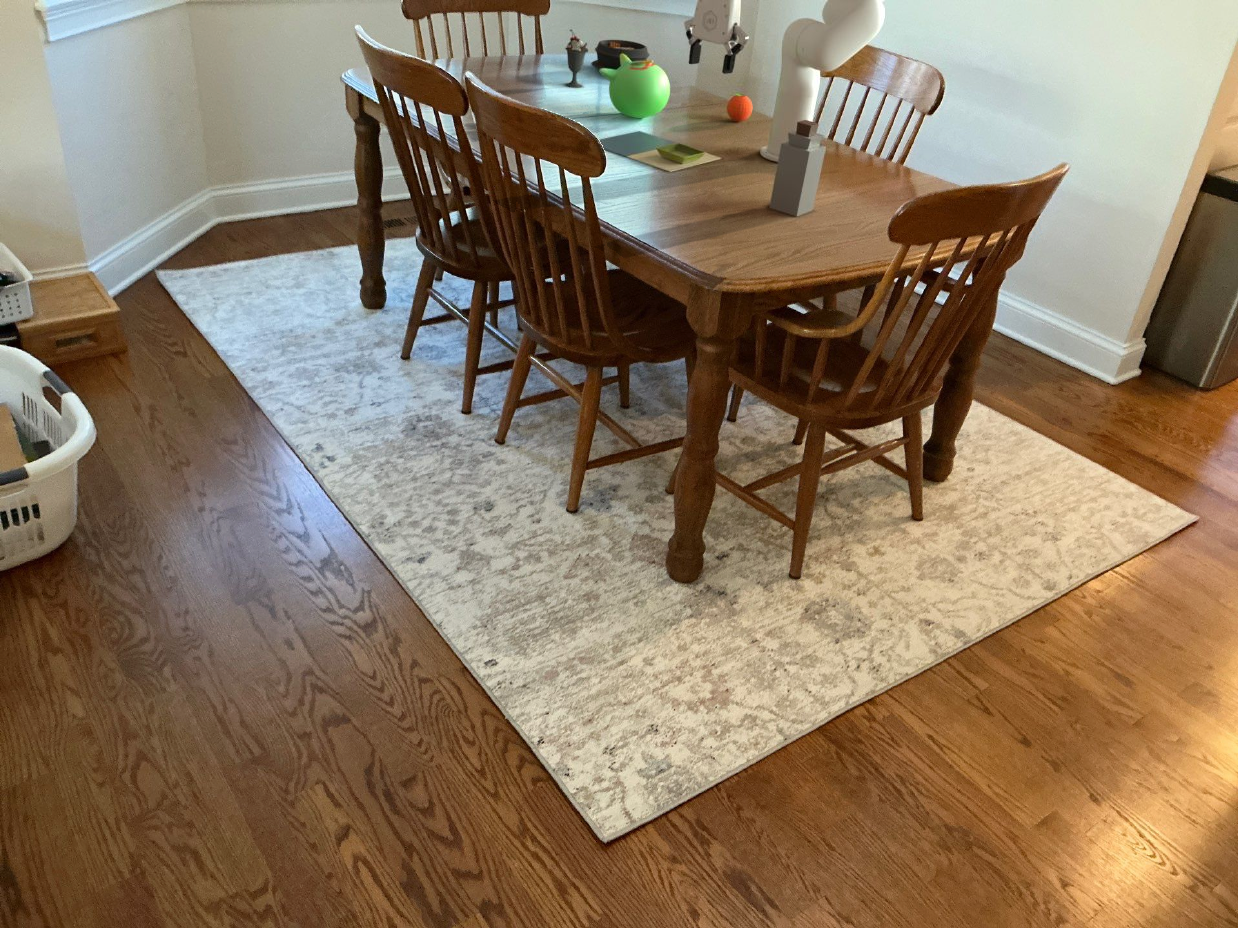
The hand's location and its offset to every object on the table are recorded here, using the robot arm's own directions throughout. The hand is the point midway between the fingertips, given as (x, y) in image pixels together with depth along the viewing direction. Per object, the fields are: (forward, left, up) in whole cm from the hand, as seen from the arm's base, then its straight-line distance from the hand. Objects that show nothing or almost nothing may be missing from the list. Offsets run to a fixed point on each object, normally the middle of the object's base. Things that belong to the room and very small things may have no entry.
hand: (710, 68), depth 223 cm
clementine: (+17, -40, -21) cm, 48 cm away
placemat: (+10, +4, -21) cm, 23 cm away
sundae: (+66, -27, -21) cm, 74 cm away
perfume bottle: (-34, +11, -21) cm, 41 cm away
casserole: (+71, -53, -21) cm, 91 cm away
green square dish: (+2, +4, -21) cm, 21 cm away
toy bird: (+34, -17, -21) cm, 43 cm away
